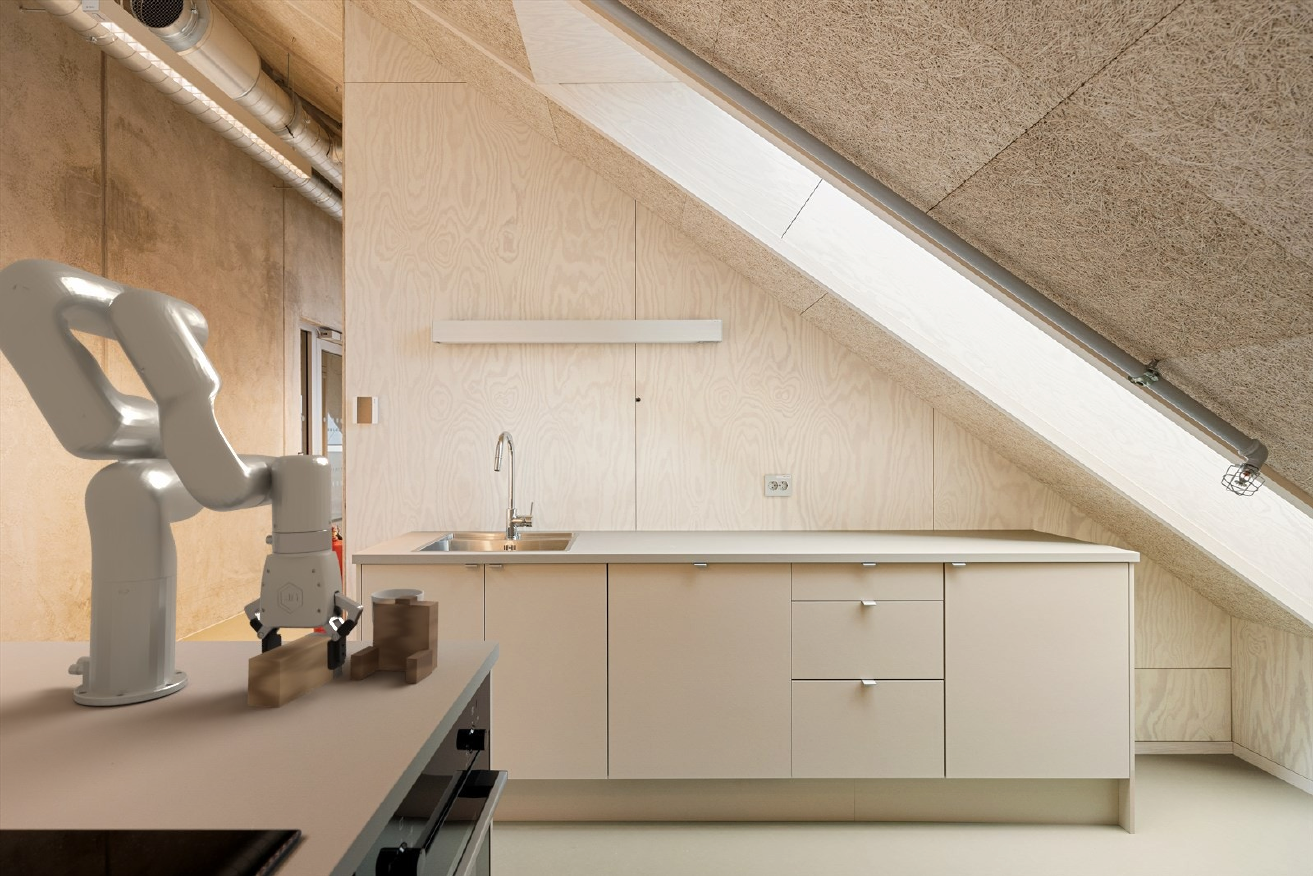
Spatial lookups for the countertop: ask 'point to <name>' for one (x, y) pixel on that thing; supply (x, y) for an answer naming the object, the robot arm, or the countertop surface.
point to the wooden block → (289, 671)
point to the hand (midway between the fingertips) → (304, 666)
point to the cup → (395, 595)
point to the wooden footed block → (400, 639)
